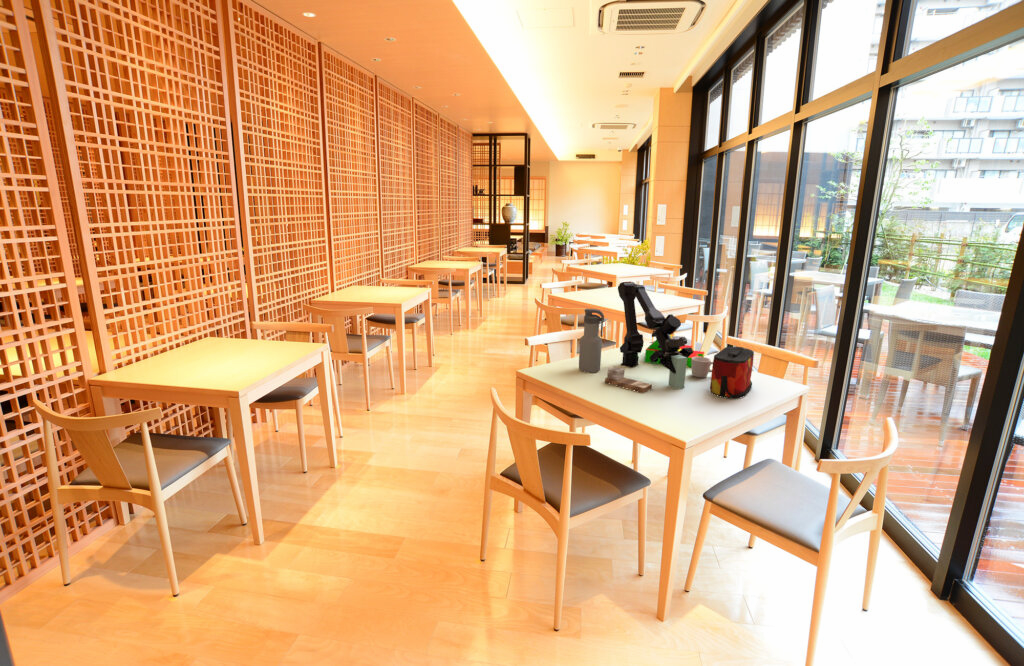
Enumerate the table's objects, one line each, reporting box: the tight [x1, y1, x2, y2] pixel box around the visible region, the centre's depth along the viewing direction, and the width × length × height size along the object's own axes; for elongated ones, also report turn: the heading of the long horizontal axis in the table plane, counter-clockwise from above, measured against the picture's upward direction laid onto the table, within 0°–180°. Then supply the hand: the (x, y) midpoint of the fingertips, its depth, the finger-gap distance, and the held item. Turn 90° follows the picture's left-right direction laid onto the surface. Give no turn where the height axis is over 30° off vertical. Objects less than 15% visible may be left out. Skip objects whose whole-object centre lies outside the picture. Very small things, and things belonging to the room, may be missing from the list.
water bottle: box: [578, 308, 605, 373], centre depth 237 cm, size 10×10×28 cm
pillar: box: [667, 355, 687, 390], centre depth 218 cm, size 4×4×13 cm
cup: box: [691, 356, 713, 379], centre depth 233 cm, size 11×8×8 cm
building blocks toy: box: [644, 334, 706, 368], centre depth 255 cm, size 19×25×18 cm
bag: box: [709, 346, 755, 399], centre depth 216 cm, size 30×14×16 cm, turn 144°
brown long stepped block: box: [604, 366, 653, 394], centre depth 219 cm, size 18×7×6 cm, turn 48°
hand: (679, 372), depth 216 cm, fingers closed on pillar, 4 cm apart
